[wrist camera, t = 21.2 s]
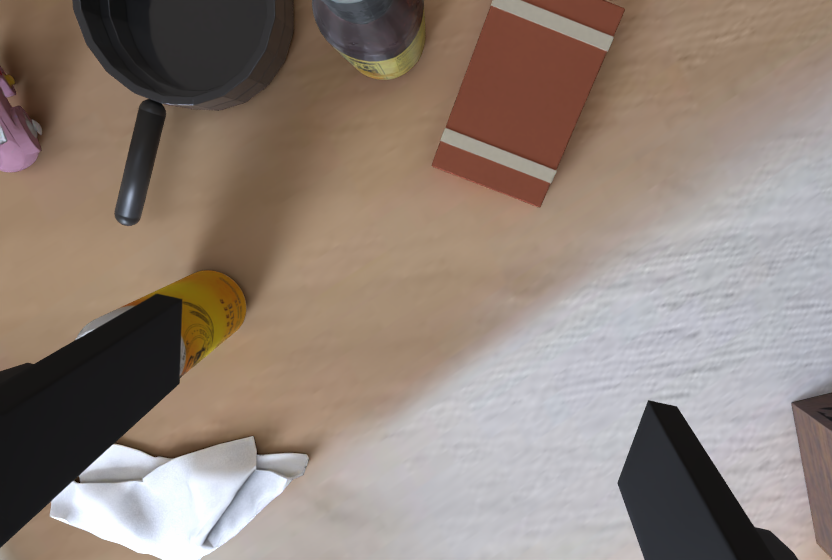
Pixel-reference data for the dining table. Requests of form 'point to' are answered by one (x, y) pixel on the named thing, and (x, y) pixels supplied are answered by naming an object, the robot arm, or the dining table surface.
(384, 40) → the sauce bottle
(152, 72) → the pan
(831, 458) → the tissue box cover
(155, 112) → the pan handle
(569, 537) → the dining table surface
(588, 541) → the dining table surface
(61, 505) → the cloth
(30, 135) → the video game controller
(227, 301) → the beer can
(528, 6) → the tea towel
